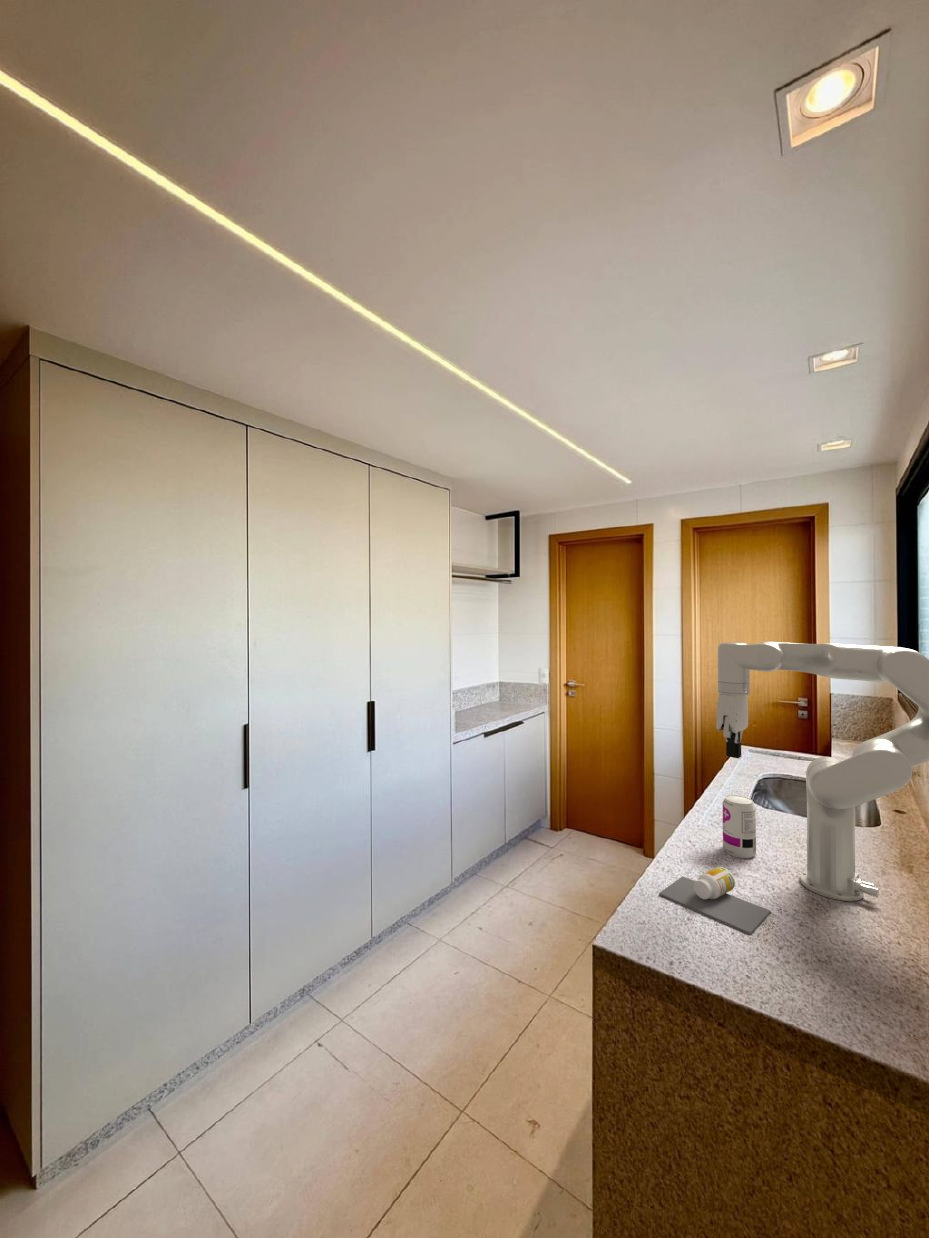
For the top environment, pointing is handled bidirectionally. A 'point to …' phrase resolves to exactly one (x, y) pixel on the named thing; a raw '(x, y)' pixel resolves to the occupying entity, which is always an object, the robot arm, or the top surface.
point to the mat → (717, 906)
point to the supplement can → (739, 826)
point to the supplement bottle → (714, 883)
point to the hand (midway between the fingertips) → (733, 756)
